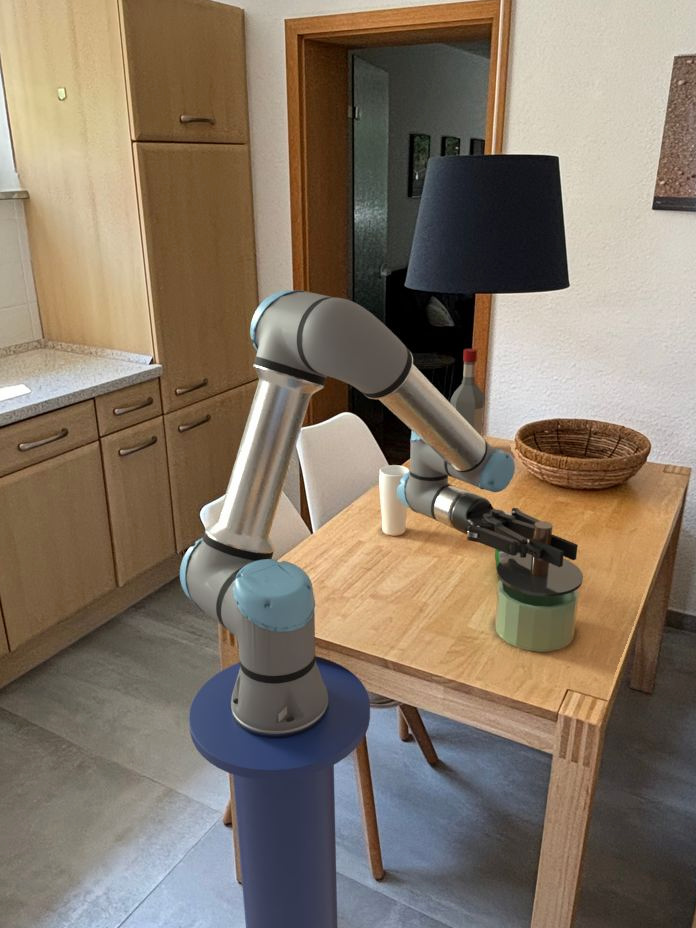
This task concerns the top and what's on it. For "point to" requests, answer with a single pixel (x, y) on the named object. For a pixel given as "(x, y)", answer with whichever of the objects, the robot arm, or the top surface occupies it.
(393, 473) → the drinking glass
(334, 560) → the top surface
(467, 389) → the liquor
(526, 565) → the lid
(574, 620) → the pot
